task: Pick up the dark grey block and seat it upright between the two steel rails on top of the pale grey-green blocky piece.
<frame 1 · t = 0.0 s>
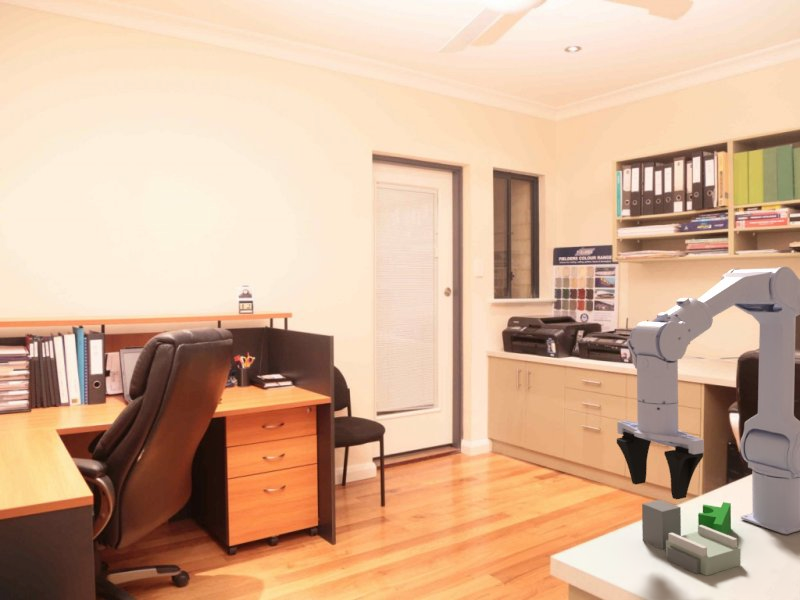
hand: (658, 490, 93), 10 cm above the table, fingers open, 7 cm apart
pipe clamp: (714, 539, 99), on the table
pale grey-green blocky piece: (702, 560, 91), on the table
dark grey block: (661, 542, 98), on the table
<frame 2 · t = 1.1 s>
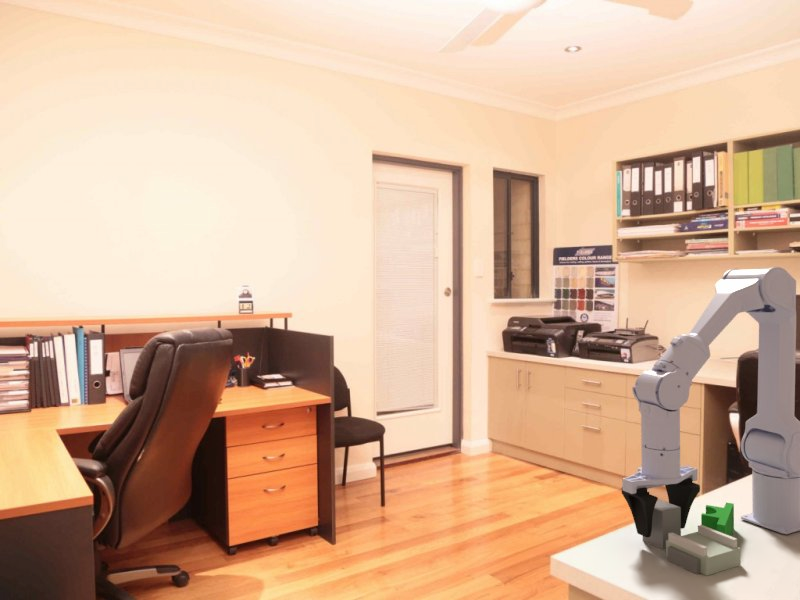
hand: (661, 530, 98), 2 cm above the table, fingers open, 7 cm apart
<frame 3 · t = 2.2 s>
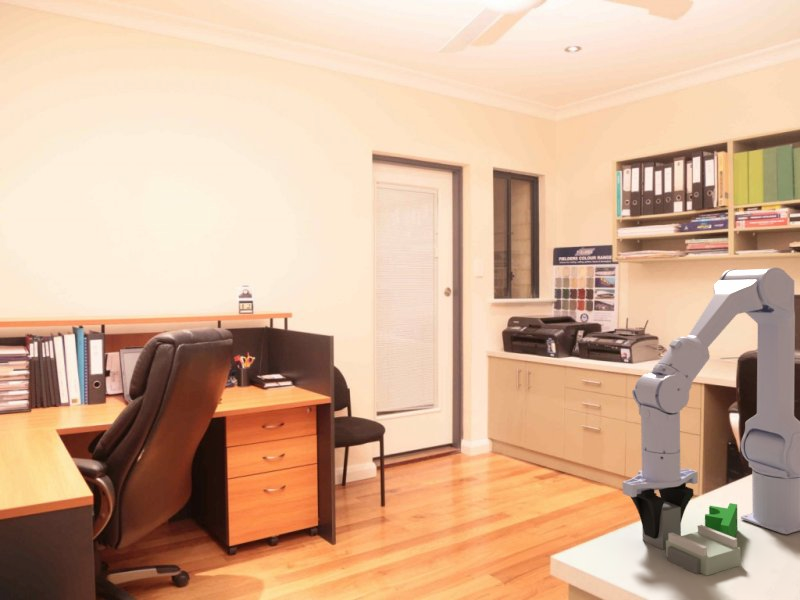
hand: (661, 533, 98), 1 cm above the table, fingers closed on dark grey block, 4 cm apart
dark grey block: (661, 542, 98), on the table, touching gripper
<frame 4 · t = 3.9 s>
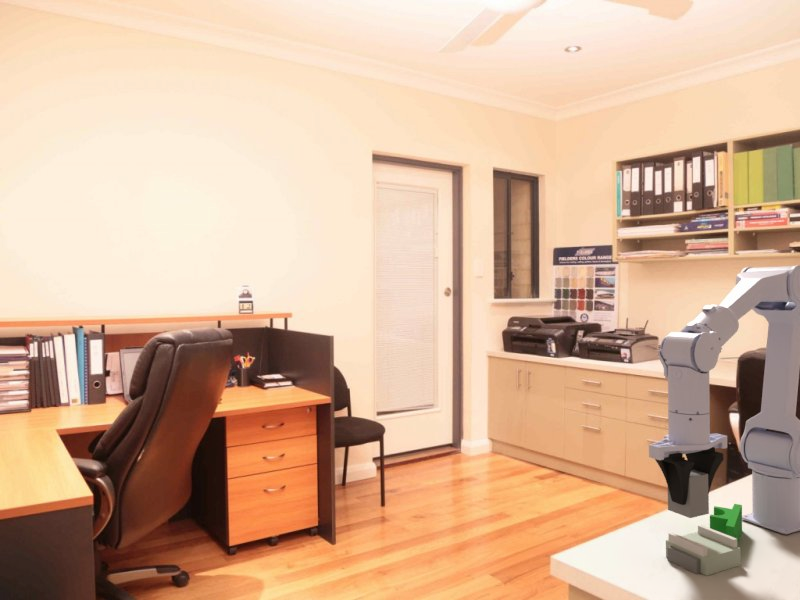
hand: (689, 500, 93), 8 cm above the table, fingers closed on dark grey block, 4 cm apart
dark grey block: (688, 511, 93), point 7 cm above the table, touching gripper
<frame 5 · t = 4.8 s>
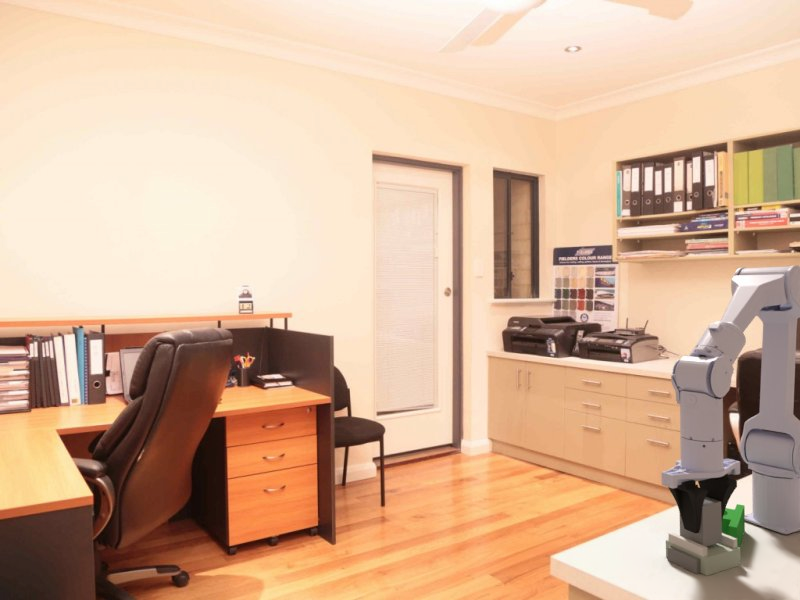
hand: (702, 528, 91), 5 cm above the table, fingers closed on dark grey block, 4 cm apart
dark grey block: (700, 539, 91), point 3 cm above the table, touching gripper
when the fingers open (5 cm above the table, at t = 5.6 s): dark grey block stays where it is, resting on pale grey-green blocky piece.
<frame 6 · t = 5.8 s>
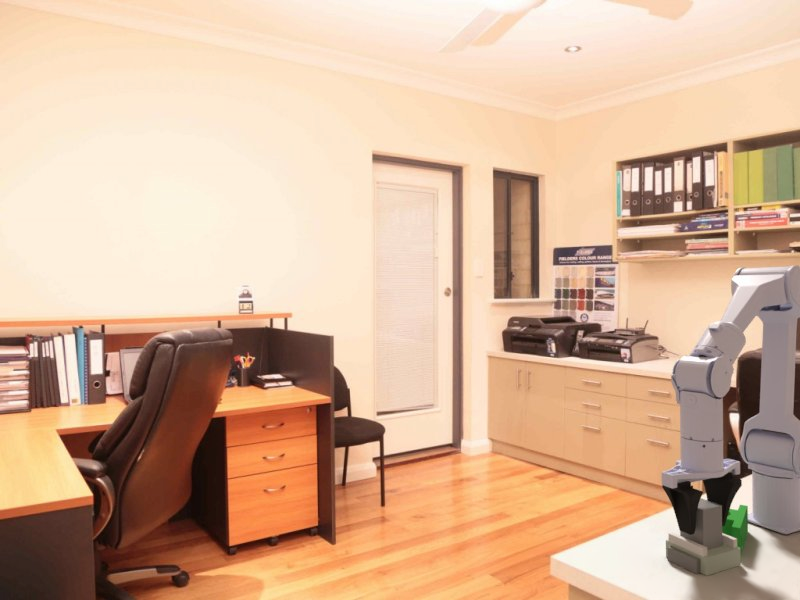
hand: (702, 528, 91), 5 cm above the table, fingers open, 6 cm apart
dark grey block: (701, 543, 91), point 2 cm above the table, touching pale grey-green blocky piece
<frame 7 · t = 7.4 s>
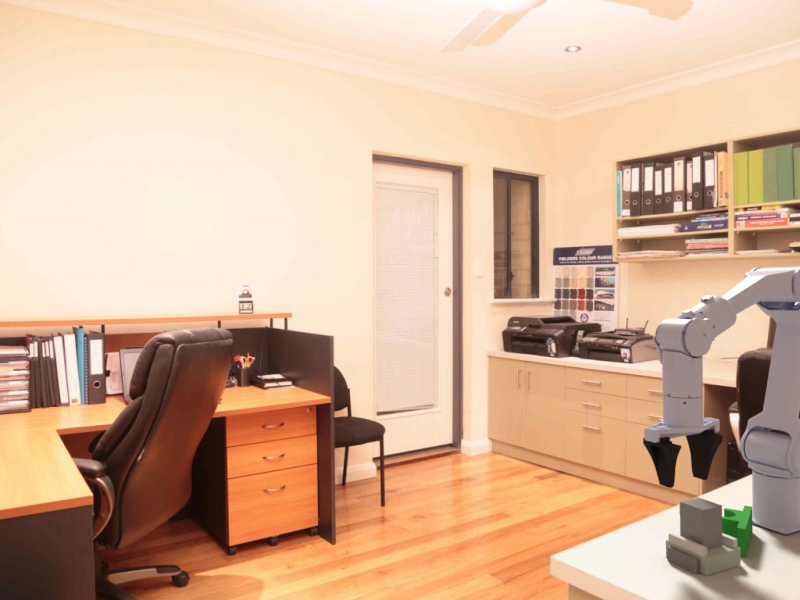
hand: (683, 482, 95), 10 cm above the table, fingers open, 7 cm apart
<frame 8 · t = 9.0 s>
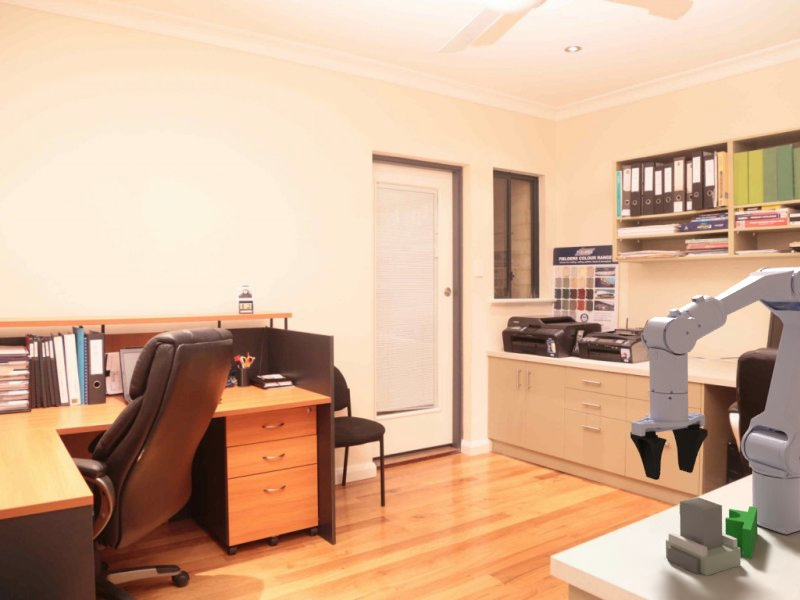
hand: (669, 474, 99), 10 cm above the table, fingers open, 7 cm apart
at the end: dark grey block 0.2 cm off-centre on the pale grey-green blocky piece, point 2.5 cm above the pale grey-green blocky piece's base; dark grey block tilted 0°; the gripper is holding nothing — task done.
